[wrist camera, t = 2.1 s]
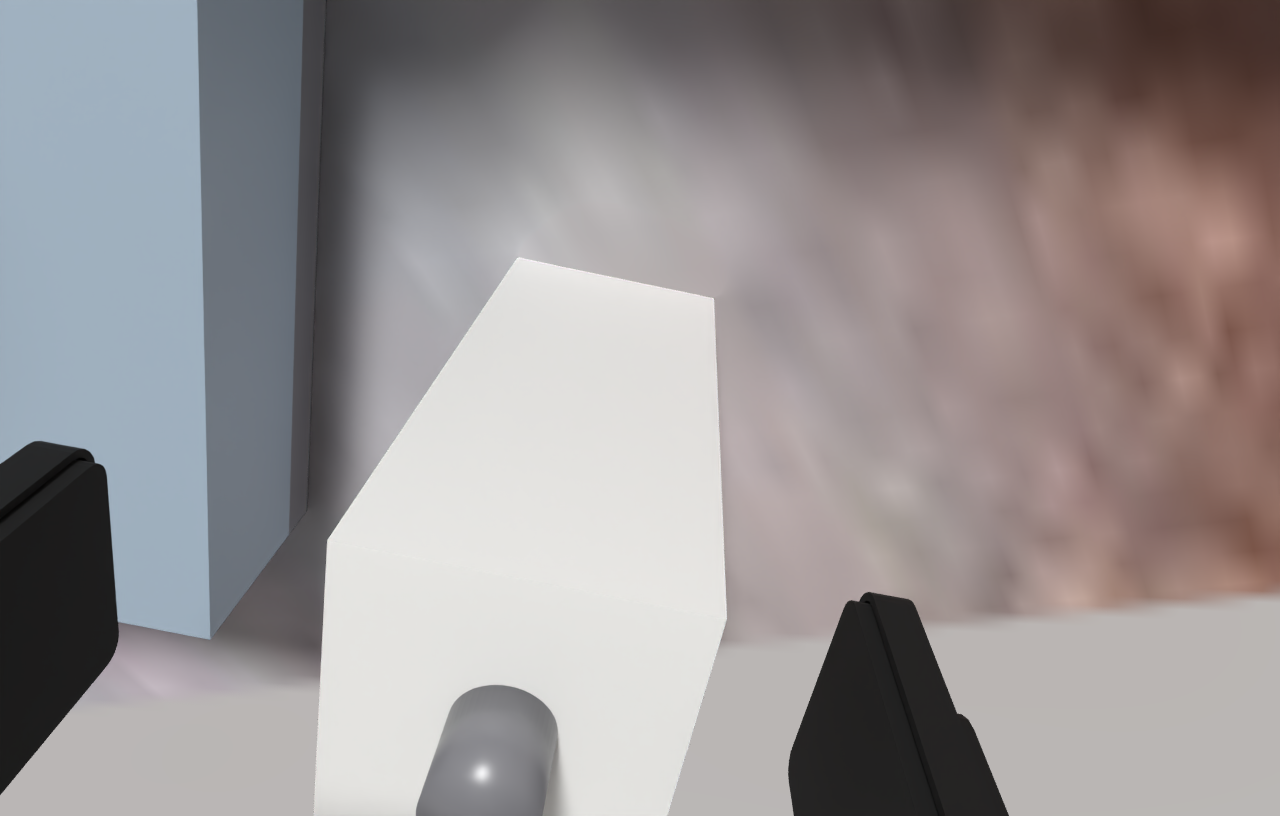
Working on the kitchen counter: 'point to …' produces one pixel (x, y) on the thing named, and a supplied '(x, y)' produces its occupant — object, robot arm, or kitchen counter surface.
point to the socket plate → (165, 276)
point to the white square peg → (533, 566)
